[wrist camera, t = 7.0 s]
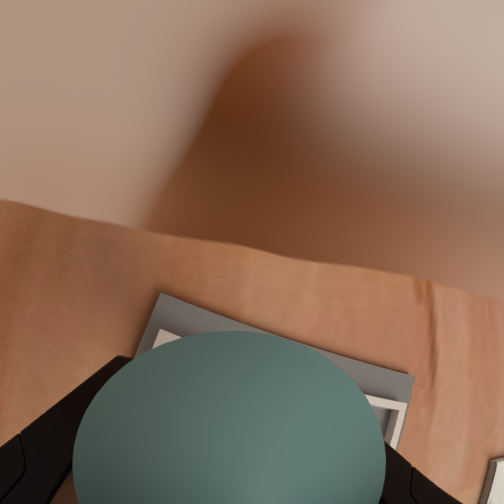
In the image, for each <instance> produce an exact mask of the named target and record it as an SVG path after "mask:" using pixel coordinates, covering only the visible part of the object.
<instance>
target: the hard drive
mask: <svg viewBox="0 0 504 504" xmlns="http://www.w3.org/2000/svg"><path fill="white" fill-rule="evenodd" d="M479 504H504V457H503V458H499V459H495V460H491V461H490V465H489V469H488V473H487V477H486V481H485V485H484V489H483V493H482V496H481V500H480V503H479Z"/></svg>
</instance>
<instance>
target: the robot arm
mask: <svg viewBox="0 0 504 504" xmlns="http://www.w3.org/2000/svg"><path fill="white" fill-rule="evenodd" d="M132 360H134V359H133V358H131V357H126V356H121V355H118V356H116V357H115V358H113V359H112V360H111V361H110V362H108V363H107V364H106V365H105V366H103V367H102V368H101V369H100V370H98V371H97V372H96V373H94V374H93V375H92V376H91V377H89V378H88V379H87V380H86V381H84V382H83V383H82V384H80V385H79V386H78V387H77V388H75V389H74V390H73V391H72V392H70V393H69V394H68V395H66V396H65V397H64V398H63V399H61V400H60V401H59V402H58V403H56V404H55V405H54V406H52V407H51V408H50V409H49V410H47V411H46V412H45V413H44V414H42V415H41V416H40V417H39V418H37V419H36V420H35V421H33V422H32V423H31V424H30V425H28V426H27V427H26V428H25V429H23V430H22V431H21V432H20V434H17V435H15V436H14V437H13V438H12V439H10V440H9V441H8V442H7V443H5V444H4V445H2V446H1V447H0V504H79V502H78V498H77V494H76V490H75V486H74V479H73V466H72V464H73V451H74V444H75V440H76V436H77V432H78V428H79V426H80V423H81V421H82V419H83V416H84V414H85V412H86V410H87V408H88V407H89V405H90V403H91V402H92V400H93V399H94V397H95V395H96V394H97V393H98V392H99V390H100V389H101V388H102V387H103V386H104V385H105V383H106V382H107V381H108V380H109V379H110V378H111V377H112V376H113V375H114V374H116V373H117V372H118V371H119V370H120V369H121V368H123V367H124V366H125V365H126V364H128V363H129V362H131V361H132ZM384 445H385V455H386V468H385V479H384V485H383V490H382V494H381V497H380V500H379V503H378V504H463V503H461V502H459V501H458V500H456V499H455V498H453V497H452V496H451V495H449V494H448V493H446V492H445V491H443V490H442V489H441V488H439V487H438V486H437V485H435V484H434V483H433V482H432V481H430V480H429V479H428V478H427V477H426V476H424V475H423V474H422V473H421V472H420V471H418V470H417V469H416V468H415V467H412V465H411V464H410V463H409V462H408V461H407V460H406V459H405V458H403V457H402V456H401V455H400V454H399V453H398V452H397V451H396V450H394V449H393V448H392V447H391V446H390V445H389V444H388V443H387V442H386V441H384Z"/></svg>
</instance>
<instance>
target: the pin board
mask: <svg viewBox="0 0 504 504" xmlns="http://www.w3.org/2000/svg"><path fill="white" fill-rule="evenodd" d="M218 331H250V332H256V333H263V334H269V335H274V334H271V333H268V332H266V331H263V330H260V329H257V328H254V327H251V326H248V325H246V324H243V323H240V322H237V321H234V320H232V319H229V318H226V317H223V316H221V315H218V314H215V313H213V312H210V311H207V310H205V309H202V308H200V307H197V306H194V305H192V304H189V303H187V302H184V301H181V300H179V299H176V298H174V297H171V296H169V295H166V294H164V293H162V292H161V293H160V295H159V298H158V300H157V303H156V305H155V307H154V310H153V312H152V315H151V317H150V319H149V322H148V324H147V327H146V329H145V332H144V334H143V337H142V339H141V342H140V344H139V347H138V349H137V352H136V355H135V357H134V359H135V358H137V357H138V356H140V355H142V354H143V353H145V352H147V351H149V350H151V349H153V348H155V347H158V346H160V345H162V344H164V343H167V342H170V341H173V340H176V339H179V338H182V337H186V336H191V335H196V334H201V333H206V332H218ZM274 336H277V335H274ZM277 337H280V336H277ZM281 338H283V337H281ZM284 339H286V338H284ZM288 340H289V339H288ZM291 341H292V340H291ZM294 342H295V341H294ZM296 343H298V342H296ZM299 344H301V345H303V346H306V347H308V348H310V349H312V350H314V351H316V352H317V353H319V354H321V355H323V356H324V357H326V358H328V359H329V360H330V361H332V362H333V363H334V364H336V365H337V366H338V367H340V368H341V369H342V370H343V371H344V372H345V373H346V374H347V375H348V376H349V377H350V378H351V379H352V380H353V381H354V382H355V383H356V384H357V385H358V387H359V388H360V389H361V391H362V392H363V393H364V395H365V396H366V398H367V399H368V401H369V403H370V405H371V406H372V408H373V410H374V412H375V414H376V417H377V419H378V422H379V424H380V427H381V431H382V435H383V439H384V441H386V442H387V443H388V444H389V445H390V446H391V447H392V448H393V449H394V450H396V451H397V450H398V446H399V443H400V439H401V435H402V432H403V428H404V424H405V420H406V416H407V412H408V407H409V403H410V398H411V394H412V389H413V384H414V379H415V376H412V375H409V374H405V373H401V372H397V371H393V370H389V369H386V368H382V367H378V366H375V365H371V364H368V363H364V362H361V361H357V360H354V359H350V358H347V357H344V356H340V355H337V354H334V353H330V352H327V351H324V350H321V349H317V348H314V347H311V346H308V345H305V344H302V343H299Z"/></svg>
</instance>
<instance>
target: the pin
mask: <svg viewBox="0 0 504 504" xmlns="http://www.w3.org/2000/svg"><path fill="white" fill-rule="evenodd" d="M72 466H73V479H74V486H75V490H76V494H77V498H78V502H79V504H378V503H379V500H380V497H381V494H382V490H383V485H384V479H385V468H386V455H385V445H384V439H383V435H382V431H381V427H380V424H379V422H378V419H377V417H376V414H375V412H374V410H373V408H372V406H371V405H370V403H369V401H368V399H367V398H366V396H365V395H364V393H363V392H362V391H361V389H360V388H359V387H358V385H357V384H356V383H355V382H354V381H353V380H352V379H351V378H350V377H349V376H348V375H347V374H346V373H345V372H344V371H343V370H342V369H341V368H340V367H338V366H337V365H336V364H334V363H333V362H332V361H330V360H329V359H328V358H326V357H324V356H323V355H321V354H319V353H317V352H316V351H314V350H312V349H310V348H308V347H306V346H303V345H301V344H299V343H296V342H294V341H291V340H288V339H284V338H281V337H277V336H274V335H269V334H263V333H256V332H250V331H218V332H206V333H201V334H196V335H191V336H186V337H182V338H179V339H176V340H173V341H170V342H167V343H164V344H162V345H160V346H158V347H155V348H153V349H151V350H149V351H147V352H145V353H143V354H142V355H140V356H138V357H137V358H135V359H134V360H132V361H131V362H129V363H128V364H126V365H125V366H124V367H123V368H121V369H120V370H119V371H118V372H117V373H116V374H114V375H113V376H112V377H111V378H110V379H109V380H108V381H107V382H106V383H105V385H104V386H103V387H102V388H101V389H100V390H99V392H98V393H97V394H96V395H95V397H94V399H93V400H92V402H91V403H90V405H89V407H88V408H87V410H86V412H85V414H84V416H83V419H82V421H81V423H80V426H79V428H78V432H77V436H76V440H75V444H74V451H73V464H72Z"/></svg>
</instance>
